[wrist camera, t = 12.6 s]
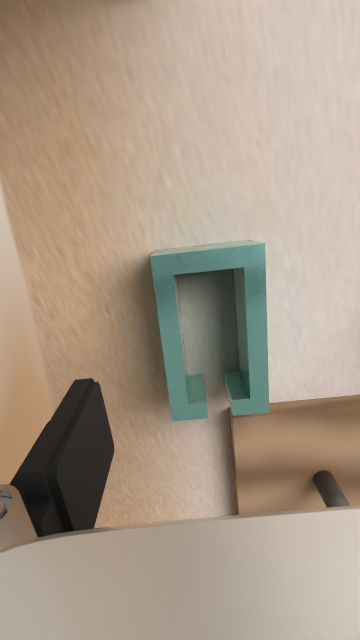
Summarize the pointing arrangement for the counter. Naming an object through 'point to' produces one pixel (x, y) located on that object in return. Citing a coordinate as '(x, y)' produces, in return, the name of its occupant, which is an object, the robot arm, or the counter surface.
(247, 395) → the c link
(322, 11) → the counter surface
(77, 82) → the counter surface
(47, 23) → the counter surface
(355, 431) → the stand
